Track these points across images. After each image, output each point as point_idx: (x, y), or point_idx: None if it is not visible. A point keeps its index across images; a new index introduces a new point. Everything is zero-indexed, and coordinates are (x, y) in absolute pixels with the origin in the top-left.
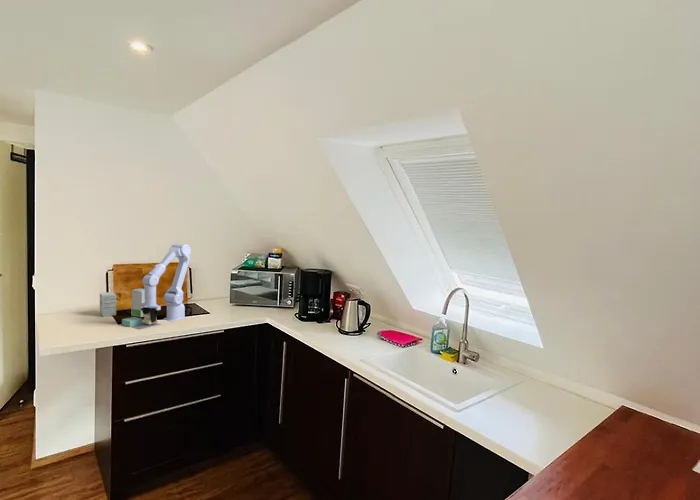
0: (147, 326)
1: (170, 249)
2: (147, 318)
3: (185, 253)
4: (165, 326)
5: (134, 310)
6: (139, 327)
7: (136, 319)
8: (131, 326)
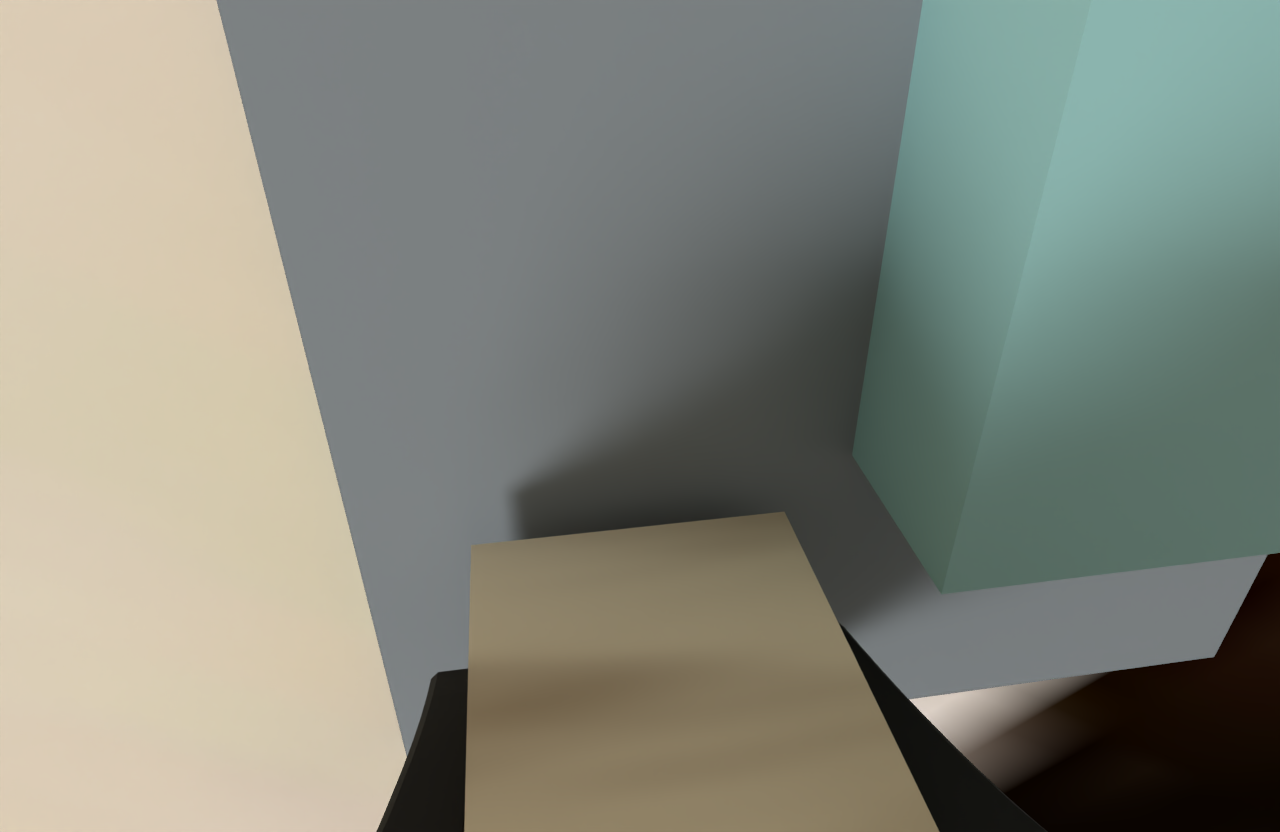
0: (444, 436)
1: None
2: (619, 711)
3: None
4: (149, 768)
5: None
6: (540, 165)
7: (1080, 407)
8: (928, 4)
